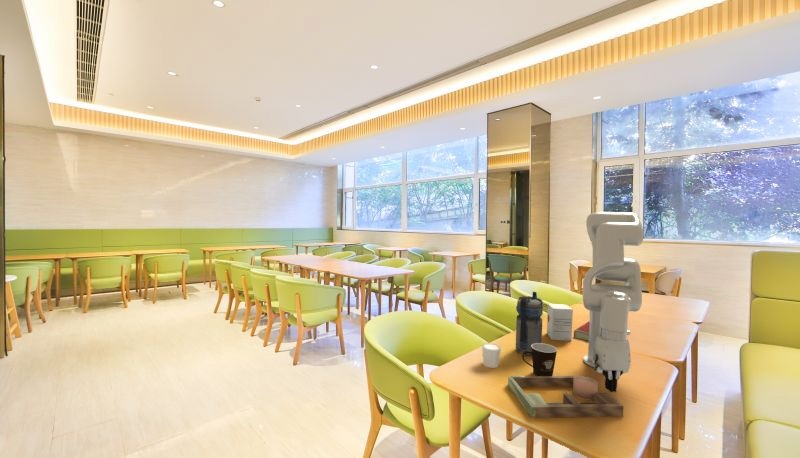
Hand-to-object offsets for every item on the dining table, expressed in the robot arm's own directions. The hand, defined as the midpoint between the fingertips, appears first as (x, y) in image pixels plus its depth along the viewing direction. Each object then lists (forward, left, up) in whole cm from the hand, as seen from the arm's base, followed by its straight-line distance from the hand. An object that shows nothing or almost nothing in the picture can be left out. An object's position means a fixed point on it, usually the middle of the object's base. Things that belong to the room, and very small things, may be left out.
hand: (610, 389), depth 111 cm
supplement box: (-10, -51, -2) cm, 52 cm away
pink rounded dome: (+8, 0, -2) cm, 8 cm away
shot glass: (+32, -22, -2) cm, 39 cm away
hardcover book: (-29, -54, -2) cm, 61 cm away
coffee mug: (+17, -14, -2) cm, 23 cm away
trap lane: (+18, +3, -2) cm, 18 cm away
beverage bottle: (+13, -33, -2) cm, 36 cm away
